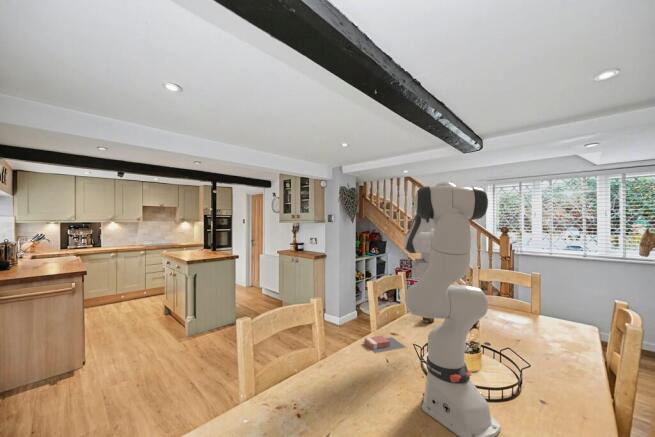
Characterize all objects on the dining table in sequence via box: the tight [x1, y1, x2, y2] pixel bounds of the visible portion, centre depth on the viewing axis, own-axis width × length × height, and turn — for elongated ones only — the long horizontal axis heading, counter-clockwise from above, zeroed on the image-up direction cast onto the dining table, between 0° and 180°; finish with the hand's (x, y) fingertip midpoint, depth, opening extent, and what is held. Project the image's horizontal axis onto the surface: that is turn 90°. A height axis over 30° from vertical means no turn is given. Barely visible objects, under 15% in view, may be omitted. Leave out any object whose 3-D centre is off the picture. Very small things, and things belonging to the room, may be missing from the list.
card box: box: [364, 335, 390, 350], centre depth 129 cm, size 7×2×10 cm
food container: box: [422, 317, 435, 325], centre depth 162 cm, size 12×6×10 cm, turn 143°
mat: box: [363, 336, 406, 354], centre depth 129 cm, size 12×17×1 cm
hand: (430, 286), depth 129 cm, fingers closed
